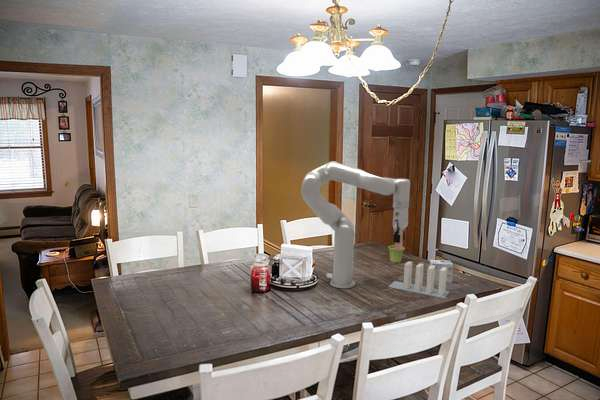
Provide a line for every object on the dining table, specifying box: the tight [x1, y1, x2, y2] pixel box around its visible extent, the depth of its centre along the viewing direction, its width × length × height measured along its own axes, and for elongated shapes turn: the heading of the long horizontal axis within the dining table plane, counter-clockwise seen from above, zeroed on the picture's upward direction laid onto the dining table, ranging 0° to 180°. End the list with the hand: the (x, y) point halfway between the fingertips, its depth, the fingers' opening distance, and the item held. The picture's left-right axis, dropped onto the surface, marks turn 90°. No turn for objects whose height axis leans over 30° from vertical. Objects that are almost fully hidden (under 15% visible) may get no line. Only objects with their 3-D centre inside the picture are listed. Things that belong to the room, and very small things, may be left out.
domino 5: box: [438, 267, 447, 296], centre depth 210 cm, size 2×6×12 cm, turn 149°
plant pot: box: [388, 244, 405, 264], centre depth 264 cm, size 9×9×9 cm
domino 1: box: [394, 227, 404, 251], centre depth 218 cm, size 2×6×12 cm, turn 149°
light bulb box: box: [429, 259, 454, 283], centre depth 230 cm, size 11×7×11 cm, turn 84°
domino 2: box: [403, 261, 413, 289], centre depth 218 cm, size 2×6×12 cm, turn 149°
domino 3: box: [414, 262, 425, 291], centre depth 215 cm, size 2×6×12 cm, turn 149°
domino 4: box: [425, 265, 435, 294], centre depth 212 cm, size 2×6×12 cm, turn 149°
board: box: [388, 280, 450, 299], centre depth 216 cm, size 27×10×1 cm, turn 59°
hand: (398, 240), depth 218 cm, fingers closed on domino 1, 5 cm apart
